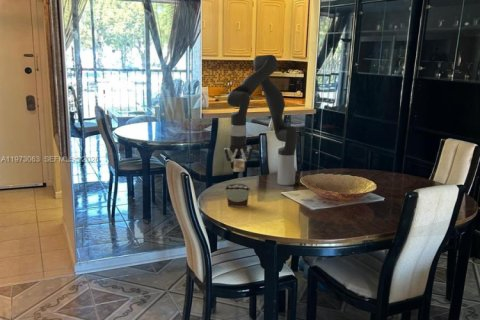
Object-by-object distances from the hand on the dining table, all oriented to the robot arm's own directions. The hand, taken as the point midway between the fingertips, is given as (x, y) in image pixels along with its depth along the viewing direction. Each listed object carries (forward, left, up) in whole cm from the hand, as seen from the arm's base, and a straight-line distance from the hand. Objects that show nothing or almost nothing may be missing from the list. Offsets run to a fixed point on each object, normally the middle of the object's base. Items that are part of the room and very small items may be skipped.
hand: (238, 168), depth 214 cm
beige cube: (0, 0, -1) cm, 1 cm away
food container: (0, 0, -18) cm, 18 cm away
